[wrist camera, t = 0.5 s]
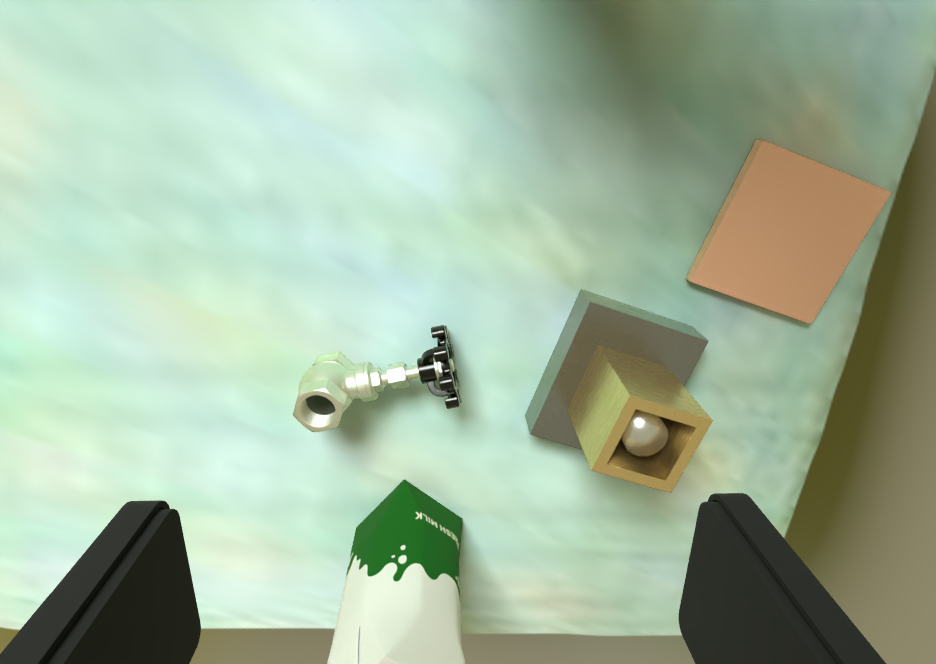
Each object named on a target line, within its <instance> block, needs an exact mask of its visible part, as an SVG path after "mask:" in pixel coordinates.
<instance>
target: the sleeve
mask: <svg viewBox="0 0 936 664" xmlns="http://www.w3.org/2000/svg"><path fill="white" fill-rule="evenodd" d="M636 409H637V410H641V411H644V412H647V413H651V414H654V415H657V416H659V417H660V419H661V420H662V421H663V423H664V424H665V426H666V428H667V430H668V439H667V442H666V444H665V446H664V447H663V448H662V449H661V450H660V451H658V452H657V453H655V454H653V455H649V456H637V455H634V454H632V453H630V452H629V451H628V450H627V448H626V447H625V445H624V443H623V441H622V439H621V436H622V434H623V433H624V431H625V429H626V427H627V425H628V423H629V421H630V419H631V417H632V415H633V413H634V411H635V410H636ZM567 411H568V414H569V416H570V419H571V421H572V424H573V426H574V429H575V431H576V434H577V436H578V439H579V441H580V444H581V446H582V449H583V451H584V454H585V456H586V459H587V461H588V464H589V466H590V469H591V471H595V472H598V473H602V474H606V475H609V476H613V477H616V478H620V479H623V480H627V481H630V482H634V483H637V484H641V485H645V486H648V487H652V488H655V489H659V490H662V491H666V492H669V493H671V492H672V490H673V488H674V486H675V485H676V483H677V481H678V480H679V478H680V476H681V474H682V473H683V471H684V469H685V468H686V466H687V464H688V462H689V461H690V459H691V457H692V456H693V454H694V452H695V450H696V449H697V447H698V445H699V444H700V442H701V440H702V438H703V437H704V435H705V433H706V432H707V430H708V428H709V426H710V425H711V423H712V421H713V420H712V419H711V418H710V417H709V415H708V414H707V413H706V412H705V411H704V410H703V408H702V407H701V406H700V405H699V404H698V402H697V401H696V400H695V399H694V398H693V397H692V395H691V394H690V393H689V392H688V391H687V389H686V388H685V387H684V386H683V385H682V384H681V382H680V381H679V380H678V379H677V378H676V376H675V375H674V374H673V373H672V372H671V371H670V369H669V368H668V367H665V366H662V365H659V364H656V363H653V362H650V361H647V360H644V359H641V358H637V357H634V356H631V355H628V354H625V353H622V352H619V351H616V350H613V349H609V348H606V347H603V346H600V345H598V346H597V348H596V350H595V352H594V354H593V356H592V359H591V361H590V363H589V365H588V367H587V369H586V371H585V373H584V376H583V378H582V380H581V382H580V384H579V386H578V388H577V390H576V392H575V395H574V397H573V399H572V401H571V403H570V405H569V407H568V409H567Z"/></svg>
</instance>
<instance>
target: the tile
mask: <svg viewBox="0 0 936 664" xmlns="http://www.w3.org/2000/svg"><path fill="white" fill-rule="evenodd" d="M891 193H892V192H890V191H887V190H885V189H882V188H880V187H877V186H875V185H873V184H870V183H868V182H865V181H863V180H860V179H858V178H855V177H853V176H850V175H848V174H845V173H843V172H841V171H838V170H836V169H833V168H831V167H828V166H826V165H823V164H821V163H818V162H816V161H813V160H811V159H809V158H806V157H804V156H801V155H799V154H796V153H794V152H791V151H789V150H786V149H784V148H781V147H779V146H777V145H774V144H772V143H769V142H767V141H764V140H757V139H756V141H755V143H754V145H753V147H752V149H751V151H750V153H749V155H748V156H747V158H746V160H745V162H744V164H743V166H742V168H741V170H740V172H739V174H738V176H737V178H736V180H735V182H734V184H733V186H732V188H731V190H730V192H729V194H728V196H727V198H726V200H725V202H724V204H723V206H722V208H721V209H720V211H719V213H718V215H717V217H716V219H715V221H714V223H713V225H712V227H711V229H710V231H709V233H708V235H707V237H706V239H705V241H704V243H703V245H702V247H701V249H700V251H699V253H698V255H697V257H696V259H695V261H694V262H693V264H692V266H691V268H690V270H689V272H688V274H687V276H686V279H687V280H689V281H690V282H692V283H695V284H698V285H701V286H704V287H706V288H709V289H712V290H715V291H718V292H721V293H723V294H726V295H729V296H732V297H735V298H738V299H741V300H743V301H746V302H749V303H752V304H755V305H758V306H760V307H763V308H766V309H769V310H772V311H775V312H778V313H780V314H783V315H786V316H789V317H792V318H795V319H798V320H800V321H803V322H806V323H809V324H812V322H813V320H814V319H815V317H816V315H817V314H818V312H819V310H820V309H821V307H822V306H823V304H824V302H825V301H826V299H827V297H828V296H829V294H830V292H831V291H832V289H833V288H834V286H835V284H836V283H837V281H838V279H839V278H840V276H841V274H842V273H843V271H844V270H845V268H846V266H847V265H848V263H849V261H850V260H851V258H852V256H853V255H854V253H855V252H856V250H857V248H858V247H859V245H860V243H861V242H862V240H863V238H864V237H865V235H866V234H867V232H868V230H869V229H870V227H871V225H872V224H873V222H874V221H875V219H876V217H877V216H878V214H879V212H880V211H881V209H882V207H883V206H884V204H885V203H886V201H887V199H888V198H889V196H890V194H891Z"/></svg>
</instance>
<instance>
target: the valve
mask: <svg viewBox="0 0 936 664" xmlns="http://www.w3.org/2000/svg"><path fill="white" fill-rule="evenodd" d="M431 333H432V338H436V337H437V338H438V337H439V338H438V347H434V348H433V349H430V350H427V351H426V352H424V353H423V355H422V358H418V360H417V365H416V366H411V367H407V366H406V364H405V363H404V362H401V363H396V364H391V365H388V367H387V370H385V371H381V369H380V368H379V367H376V368H374V367H373V365H372V363H371V362H365V363H360V364H357V365H354V364H353V363H352V362H351V361H350V360H349V359H348V358H347V357H346V356H345V355H344V354H343V353H342V352H340V351H339V352H334V353H329V354H324V355H319V356H317V358H316V360H315V362H314V364H313V366H312V367H311V368H309V369H308V370H307V371H306V372H305V374H304V375H303V377H302V378H301V381H300V384H299V394H298V397H297V401H296V404H295V408H294V413H293V416H294V417H295V418H296V419H297V420H298V421H299V422H300V423H301V424H302V425H303V426H305V427H306V428H307V429H309V430H310V431H312V432H319V431H326V430H330V429H334V428H337V427H338V426H339V423H340V420H341V416H342V413H343V412H344V411H345V410H346V409H347V408H348V407H349V405H350V404H351V402H352V401H353V400H355V399H360V398H361V400H362V401H363V402H367V401H372V400H376V399H377V398H378V392H382V391H383V390H384V387H385V386H387V385H390V386H391V388H392V389H397V388H403V387H408V386H409V380H412V379H417V378H420V380H421V382H422V384H425V383H427V385H428V388H429V390H430V391H431V393H433V394H434V395H436V396H440V397H444V396H448V399H445V404H446V407H447V409H450V408H455V407H460V403H461V395H460V391H459V389H458V387H457V383H458V382H459V378H458V373H457V370H456V369H455V368H454V363H453V357H454V353H453V348H452V345H451V344H449V342H448V339H449V334H448V329H447V326H444V325H441V326H436V327H432V328H431ZM436 381H439V384H440V389H441V390H439V389H437V388H436V386H435V382H436Z"/></svg>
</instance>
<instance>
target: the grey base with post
mask: <svg viewBox="0 0 936 664" xmlns="http://www.w3.org/2000/svg"><path fill="white" fill-rule="evenodd" d="M707 343H708V340H707V339H706V338H704V337H703V336H702V335H701V334H700V333H699V332H698V331H697V330H696V329H694V328H693V327H692V326H689V325H686V324H683V323H680V322H677V321H674V320H671V319H668V318H665V317H662V316H659V315H656V314H653V313H650V312H647V311H644V310H641V309H638V308H635V307H632V306H629V305H626V304H623V303H620V302H617V301H615V300H612V299H609V298H606V297H603V296H600V295H597V294H594V293H591V292H588V291H585V290H582V289H581V291H580V293H579V295H578V297H577V300H576V302H575V304H574V306H573V309H572V311H571V313H570V315H569V318H568V320H567V322H566V324H565V327H564V329H563V331H562V333H561V336H560V338H559V340H558V342H557V345H556V347H555V349H554V351H553V354H552V356H551V358H550V360H549V363H548V365H547V367H546V369H545V372H544V374H543V376H542V378H541V381H540V383H539V385H538V388H537V390H536V392H535V394H534V397H533V399H532V401H531V403H530V406H529V408H528V410H527V412H526V415H525V417H526V420H527V424H528V428H529V432H530V434H531V435H535V436H538V437H541V438H545V439H548V440H552V441H555V442H559V443H562V444H566V445H569V446H573V447H576V448H580V449H582V446H581V444H580V441H579V439H578V436H577V434H576V431H575V429H574V426H573V424H572V421H571V419H570V416H569V414H568V411H567V409H568V407H569V405H570V403H571V401H572V399H573V397H574V395H575V392H576V390H577V388H578V386H579V384H580V382H581V380H582V378H583V376H584V373H585V371H586V369H587V367H588V365H589V363H590V361H591V359H592V356H593V354H594V352H595V350H596V348H597V346H598V345H600V346H603V347H606V348H609V349H613V350H616V351H619V352H622V353H625V354H628V355H631V356H634V357H637V358H641V359H644V360H647V361H650V362H653V363H656V364H659V365H662V366H665V367H668V368H669V369H670V371H671V372H672V373H673V374H674V375H675V376H676V378H677V379H678V380H679V381H680V382H681V384H682V385H683V386H684V385H685V383H686V381H687V379H688V378H689V376H690V374H691V372H692V370H693V368H694V367H695V365H696V363H697V361H698V359H699V357H700V356H701V354H702V352H703V350H704V348H705V347H706V345H707ZM621 439H622V441H623V443H624V445H625V447H626V448H627V450H628V451H629V452H630V453H632V454H634V455H637V456H649V455H653V454H655V453H657V452H658V451H660V450H661V449H662V448H663V447H664V446H665V444H666V442H667V439H668V430H667V428H666V426H665V424H664V423H663V421H662V420H661V419H660V417H659V416H657V415H654V414H651V413H647V412H644V411H641V410H637V409H636V410H635V411H634V413H633V415H632V417H631V419H630V421H629V423H628V425H627V427H626V429H625V431H624V433H623V434H622V436H621Z"/></svg>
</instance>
